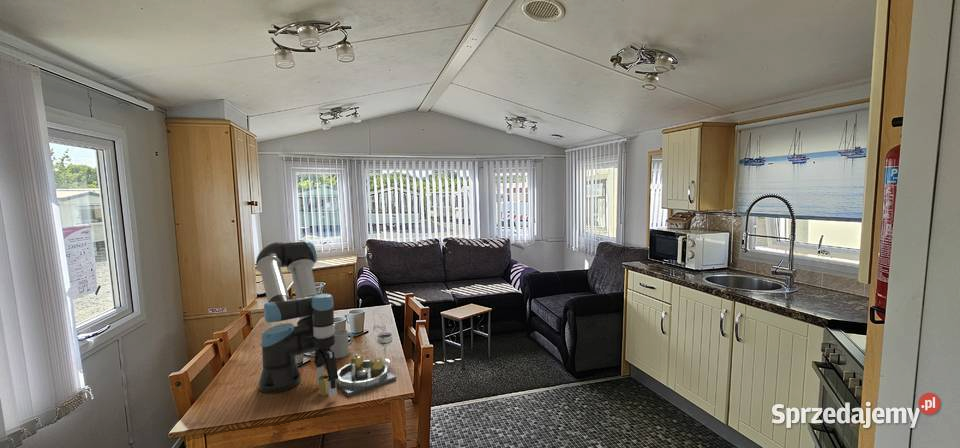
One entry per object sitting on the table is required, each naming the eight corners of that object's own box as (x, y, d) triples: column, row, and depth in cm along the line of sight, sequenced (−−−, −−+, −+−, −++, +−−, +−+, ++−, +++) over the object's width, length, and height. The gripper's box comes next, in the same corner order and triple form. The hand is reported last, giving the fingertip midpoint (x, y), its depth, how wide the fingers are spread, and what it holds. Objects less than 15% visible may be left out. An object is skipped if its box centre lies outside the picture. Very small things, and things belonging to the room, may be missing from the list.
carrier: (348, 396, 144) (347, 375, 143) (329, 377, 159) (329, 358, 158) (396, 379, 157) (395, 359, 156) (375, 363, 172) (374, 345, 171)
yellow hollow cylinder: (322, 396, 144) (321, 381, 144) (318, 391, 148) (317, 376, 147) (335, 392, 147) (334, 377, 147) (330, 387, 151) (330, 373, 150)
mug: (336, 360, 176) (336, 337, 175) (326, 355, 181) (325, 333, 180) (358, 351, 186) (357, 329, 185) (347, 347, 191) (346, 326, 190)
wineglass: (381, 357, 179) (380, 332, 178) (395, 357, 178) (394, 332, 177) (375, 363, 172) (374, 337, 171) (389, 364, 171) (388, 338, 170)
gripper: (346, 341, 138) (348, 398, 140) (323, 325, 158) (325, 375, 159) (324, 347, 134) (327, 405, 135) (304, 329, 153) (306, 380, 154)
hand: (326, 389), depth 147 cm, fingers open, 13 cm apart
